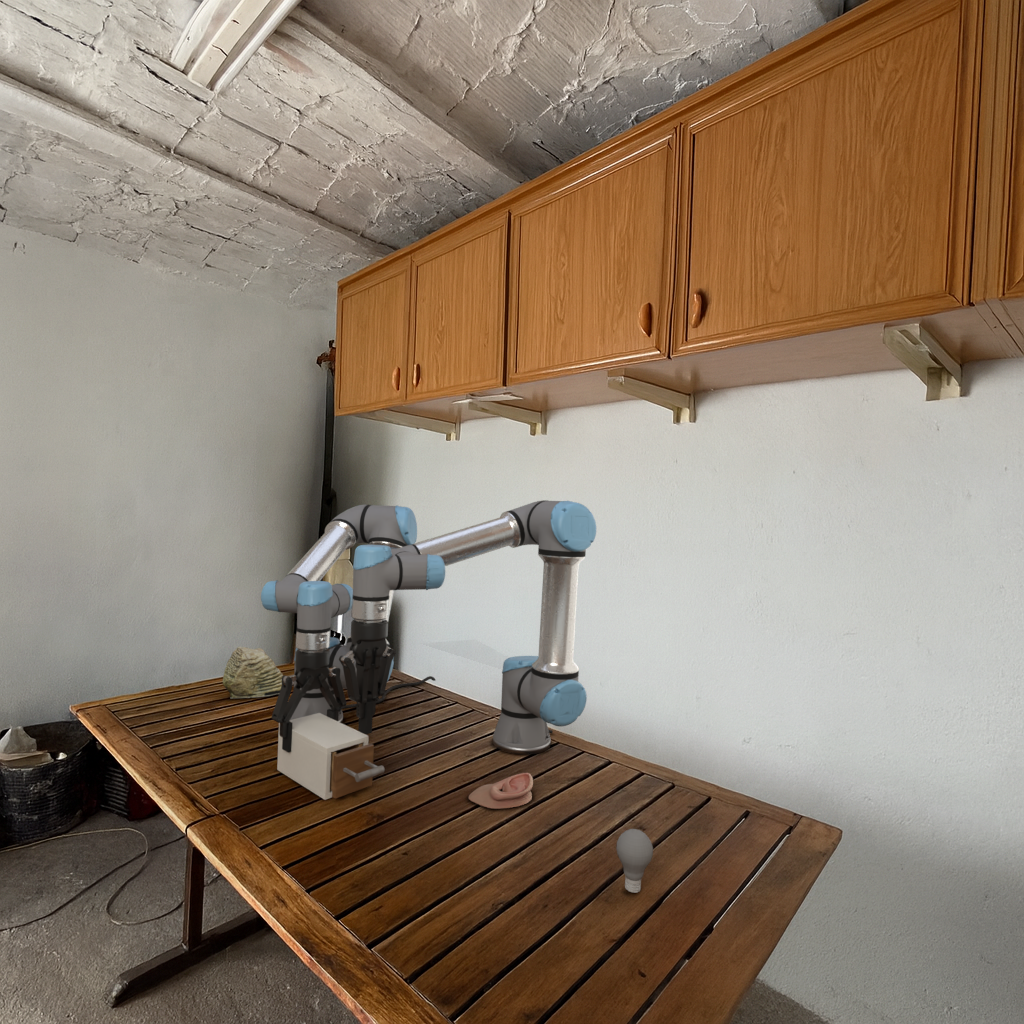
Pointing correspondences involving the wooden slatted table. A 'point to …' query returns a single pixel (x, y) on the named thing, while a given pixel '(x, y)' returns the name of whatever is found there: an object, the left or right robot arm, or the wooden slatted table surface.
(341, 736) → the cabinet
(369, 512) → the left robot arm
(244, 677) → the fossil
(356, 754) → the drawer
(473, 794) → the anatomical model
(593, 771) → the wooden slatted table surface
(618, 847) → the light bulb
